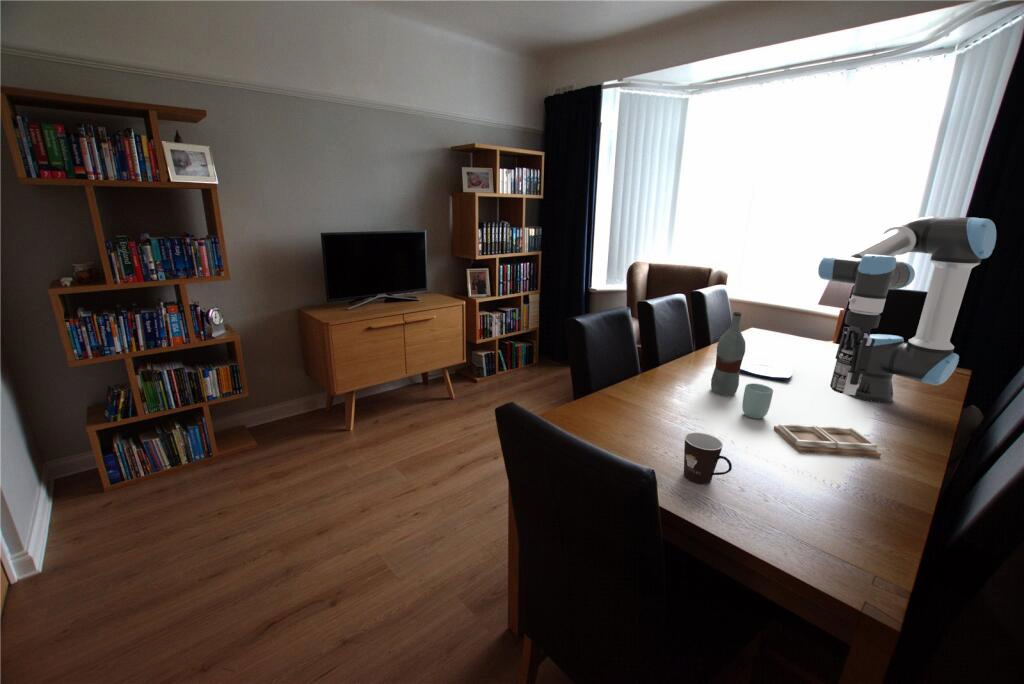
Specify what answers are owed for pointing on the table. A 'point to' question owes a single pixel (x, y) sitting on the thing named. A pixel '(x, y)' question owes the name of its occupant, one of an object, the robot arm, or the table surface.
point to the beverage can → (842, 371)
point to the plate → (766, 369)
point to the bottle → (729, 359)
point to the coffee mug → (702, 457)
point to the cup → (756, 400)
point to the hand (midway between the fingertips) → (843, 389)
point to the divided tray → (827, 440)
